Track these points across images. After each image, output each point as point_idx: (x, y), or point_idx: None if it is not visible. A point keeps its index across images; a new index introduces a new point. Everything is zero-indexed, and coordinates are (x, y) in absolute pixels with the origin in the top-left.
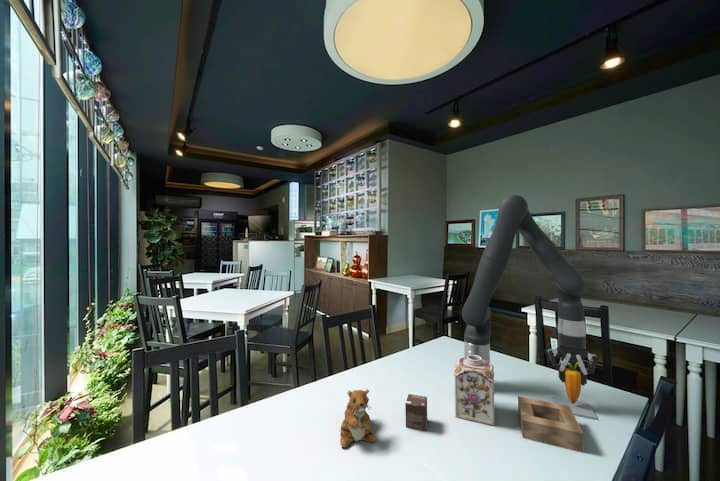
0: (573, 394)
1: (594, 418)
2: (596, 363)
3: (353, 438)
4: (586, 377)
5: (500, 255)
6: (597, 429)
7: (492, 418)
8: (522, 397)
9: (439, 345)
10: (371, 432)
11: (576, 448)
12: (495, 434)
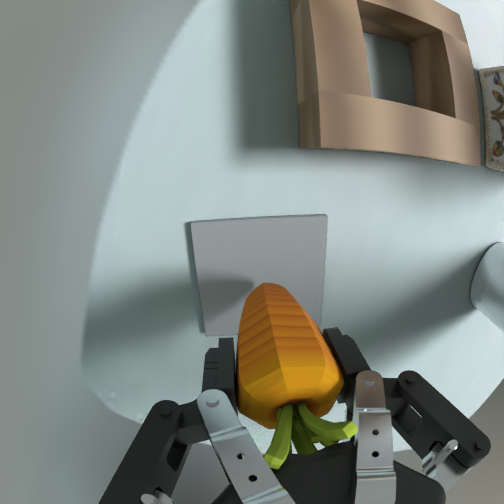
0: (274, 289)
1: (200, 221)
2: (119, 471)
3: None
4: (204, 379)
5: None
6: (205, 142)
7: (492, 68)
8: (471, 162)
9: (469, 411)
10: None
11: None
12: (468, 39)
